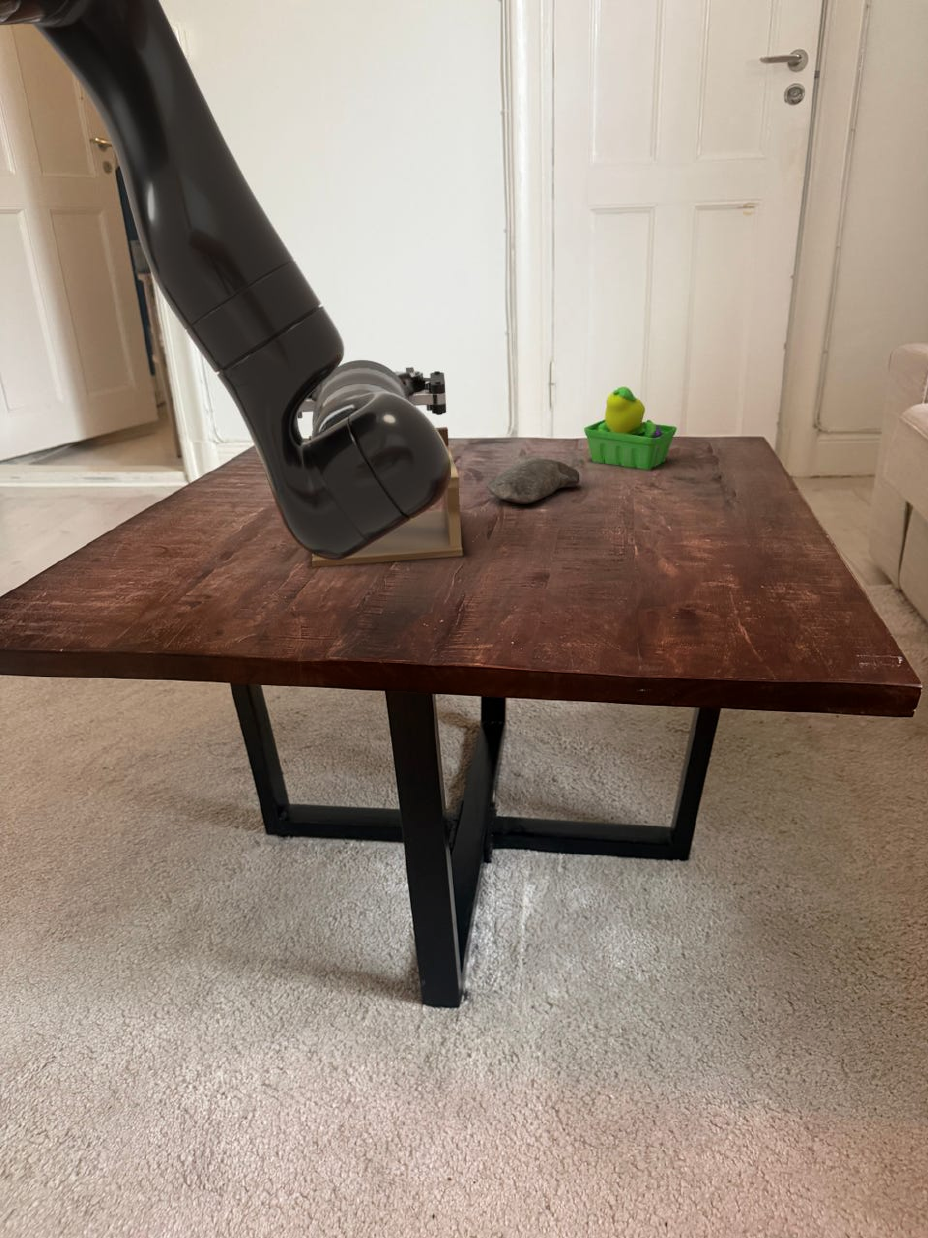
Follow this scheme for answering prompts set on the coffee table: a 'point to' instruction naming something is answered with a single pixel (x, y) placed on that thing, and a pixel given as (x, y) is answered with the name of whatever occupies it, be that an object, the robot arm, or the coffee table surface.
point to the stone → (532, 480)
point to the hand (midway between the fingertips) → (364, 381)
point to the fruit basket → (628, 434)
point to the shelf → (417, 531)
